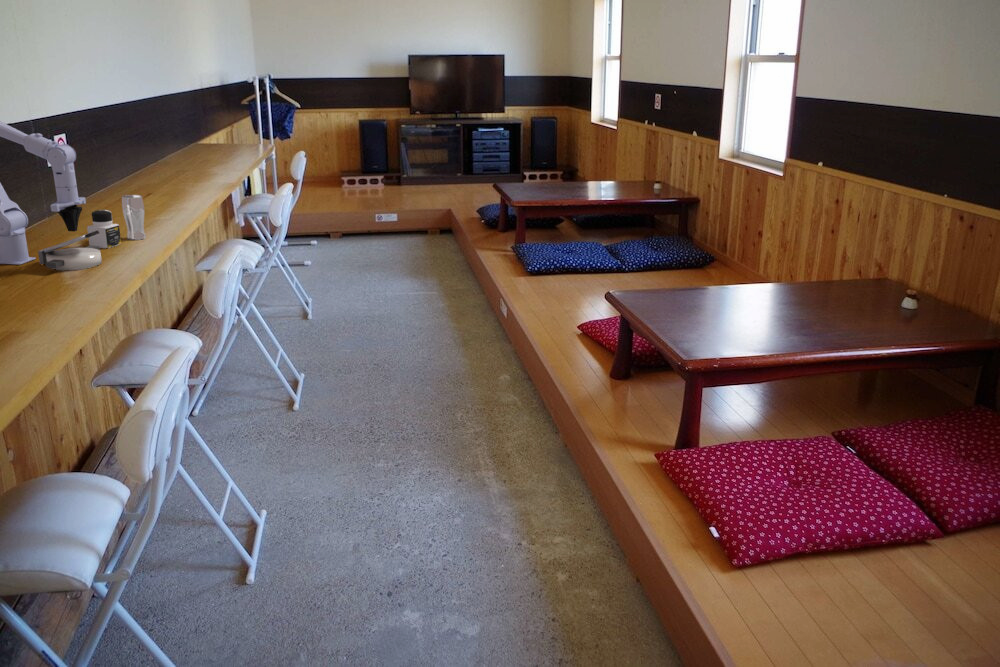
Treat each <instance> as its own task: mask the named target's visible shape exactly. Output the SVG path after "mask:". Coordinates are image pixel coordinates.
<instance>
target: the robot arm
mask: <svg viewBox="0 0 1000 667" xmlns="http://www.w3.org/2000/svg"><path fill="white" fill-rule="evenodd" d="M43 136H44V135H43V134H42V133H38V132H37V133H31V134H27V133H24V131H21V130H20V129H19V130H18V129H17V128H15V127H12V126H11V125H9V124H6V123H4V122H3V121H1V120H0V137H1V138H2V139H3V138H4V139H6V140H9V141H11V142H14V143H17V144H19V145H22V146H23V147H24V150H25V152H28V153H30V154H33V155H34V156H38V157H40V158H41V159H44V160H46V161H47V162H48V164H50V166H51V170H52V174H53V180H54V181H53V182H54V186H55V193H56V194H55V195H56V199H57V201H55V202H54V203H52V204H50V211H51V212H55V213H58V215H59V216H60V217H61V219H62V220H63V223H64V224H65V226H66V229H67V230H68V232H72V233H73V232H77V231H78V225H79V221H80V216H81V213H82V211H83V207H82V206H80V205H82V204H83V205H86V204H87V201H86V200H87V199H86V197H85V196H79V192H78V187H77V186H78V185H77V179H76V178H77V177H76V170H75V163H74V162H76V160H77V153H76V150H75V149H74V147H72V146H70V145H69V144H67V143H62V144H59V141H56V140H54V141H53V140H51V139H48V138H46V137H43ZM28 225H29V218H28V215H27V214H26V213H25V211H23V210H22V209H21V208H20V206H19V205H18V203H16V202H15V201H13V200H11V199H10V197H9V196H8V194H7V192H6V190H5V189H4V186H3V185H2V183H1V182H0V265H17V266H18V265H23V264H25V263H28V262H31V261H34V260H36V258H37V257H34V256H30V255H29V249H28V243H27V237H26V236H27V235H26V228H27V226H28Z"/></svg>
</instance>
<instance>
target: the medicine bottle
mask: <svg viewBox="0 0 1000 667" xmlns="http://www.w3.org/2000/svg"><path fill="white" fill-rule="evenodd" d="M91 218H92V219H91V220H92V224H91V225H88V226H87V227H86V229H87V234H88V233H91V232H95V231H97V230H98V231H99V234H96V235H94V236H92V237H89V238H88V243H89V245H88V246H90V245H91V246H99V248H100V249H106V248H108V249H112V248H114V246H115V247H117V246H120V245H122V239H121V230H120V225H119V224H118V223H113V215H112V211H110V210H107V209H99V210H94V211H92V212H91ZM111 247H112V248H111Z"/></svg>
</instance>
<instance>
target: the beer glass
mask: <svg viewBox="0 0 1000 667" xmlns="http://www.w3.org/2000/svg"><path fill="white" fill-rule="evenodd" d="M143 199H144V198H143V196H142V195H140V194H125V195H122V196H121V207H122V214H123V217H124V221H125V224H126V228H127V235H126V236H127V237H126V239H127V240H128V241H129V240H130V241H141V240H145V239H146V237H147V236H146V233H145V228H144V227H145V226H144V223H145V205H144V200H143Z"/></svg>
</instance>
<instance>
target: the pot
mask: <svg viewBox="0 0 1000 667" xmlns="http://www.w3.org/2000/svg"><path fill="white" fill-rule="evenodd" d="M50 247H51V246H48V247H46V248H44V249H47V248H50ZM44 249H41V250H38V251H37V254H38V260H39V265H40V264H45V266H46V268H47V269H50V268H51V269H50V270H54V269H56V270H55V271H64V270H69V271H82V270H88V269H87V268H89V269H92V268H91V267H93V268H95V267H94V266H96V267H98V266H97V265H99V264H101V263H102V264H103V260H102V254H101V248H99V246H91V245H87V246H86V247H70V248H69V247H68V248H63V249H61V248H59V249H56V250H53V251H51V252H48V253H43V250H44ZM102 264H101V265H102ZM99 266H100V265H99Z"/></svg>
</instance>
